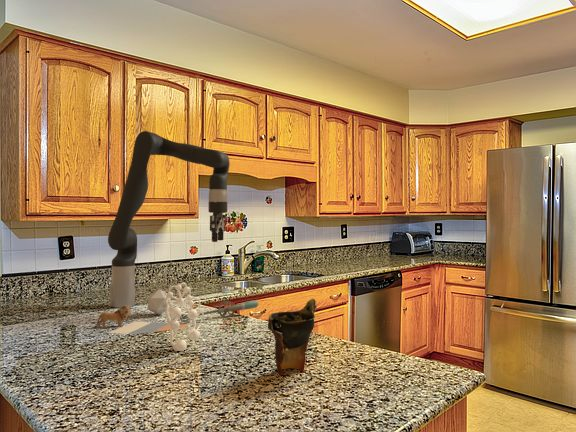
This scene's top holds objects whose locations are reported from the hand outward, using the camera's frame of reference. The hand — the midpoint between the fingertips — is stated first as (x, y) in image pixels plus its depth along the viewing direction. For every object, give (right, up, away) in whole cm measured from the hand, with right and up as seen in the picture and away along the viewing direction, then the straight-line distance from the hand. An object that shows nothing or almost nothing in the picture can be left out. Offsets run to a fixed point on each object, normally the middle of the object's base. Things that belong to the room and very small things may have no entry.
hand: (217, 241), depth 188 cm
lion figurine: (-32, -29, -27) cm, 51 cm away
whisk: (+3, -29, -13) cm, 32 cm away
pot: (+30, -29, -75) cm, 86 cm away
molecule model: (-1, -29, -55) cm, 62 cm away
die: (-21, -28, -8) cm, 36 cm away
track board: (-22, -28, -29) cm, 46 cm away
